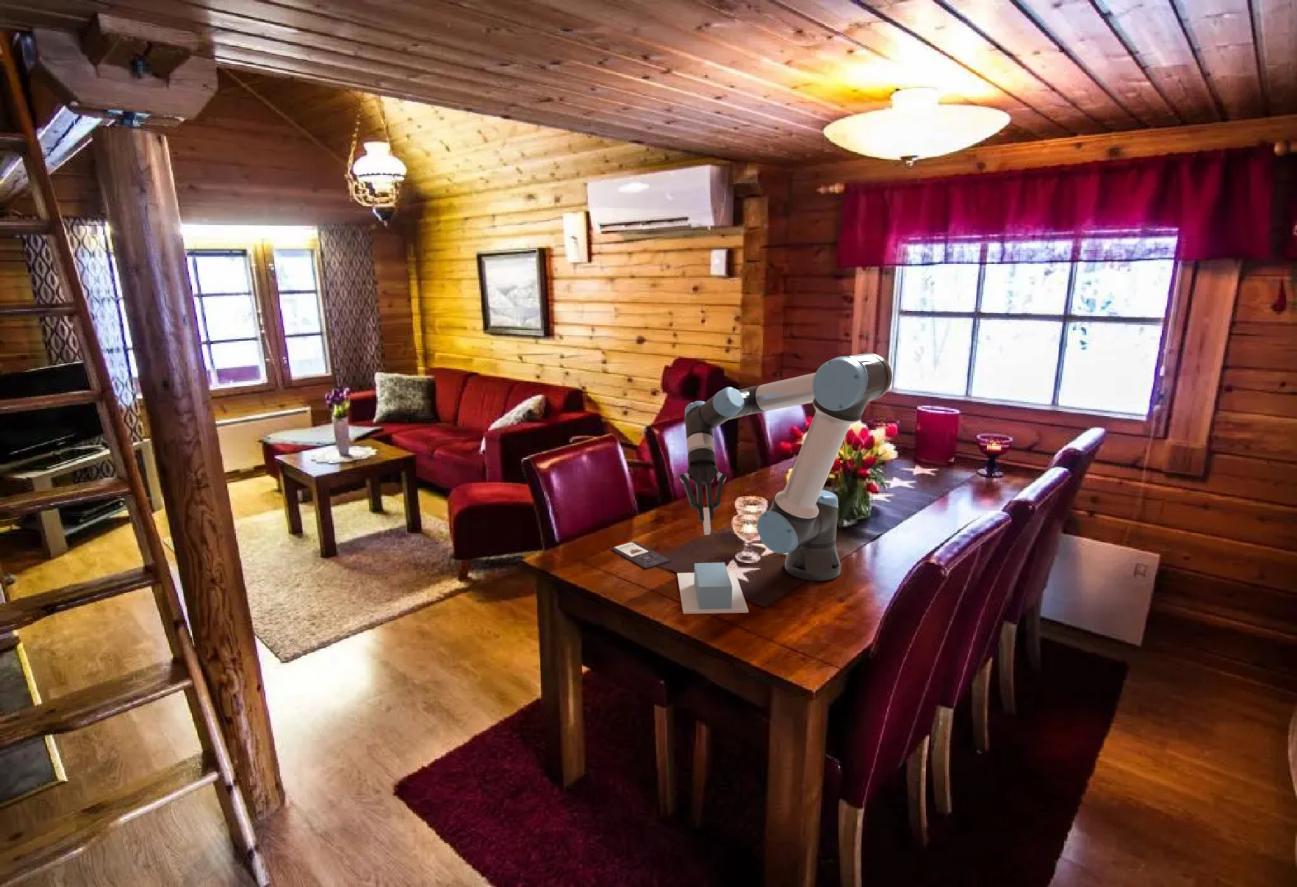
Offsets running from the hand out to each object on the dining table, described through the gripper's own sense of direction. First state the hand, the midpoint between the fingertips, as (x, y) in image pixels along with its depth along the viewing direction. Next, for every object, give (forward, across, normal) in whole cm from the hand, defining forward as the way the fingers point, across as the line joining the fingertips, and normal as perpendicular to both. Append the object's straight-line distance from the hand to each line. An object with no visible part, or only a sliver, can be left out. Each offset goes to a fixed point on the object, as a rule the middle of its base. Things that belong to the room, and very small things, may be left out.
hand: (707, 532), depth 176 cm
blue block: (+8, -1, -9) cm, 12 cm away
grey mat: (+13, -1, -9) cm, 16 cm away
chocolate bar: (-4, +17, -27) cm, 32 cm away
